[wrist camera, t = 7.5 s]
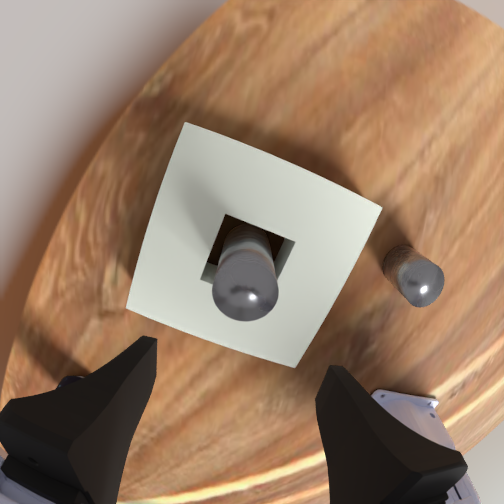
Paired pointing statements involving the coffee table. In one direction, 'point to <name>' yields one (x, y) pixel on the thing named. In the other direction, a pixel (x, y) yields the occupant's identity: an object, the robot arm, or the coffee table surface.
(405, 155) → the coffee table surface
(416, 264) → the short pin
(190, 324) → the hole block
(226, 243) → the long pin
